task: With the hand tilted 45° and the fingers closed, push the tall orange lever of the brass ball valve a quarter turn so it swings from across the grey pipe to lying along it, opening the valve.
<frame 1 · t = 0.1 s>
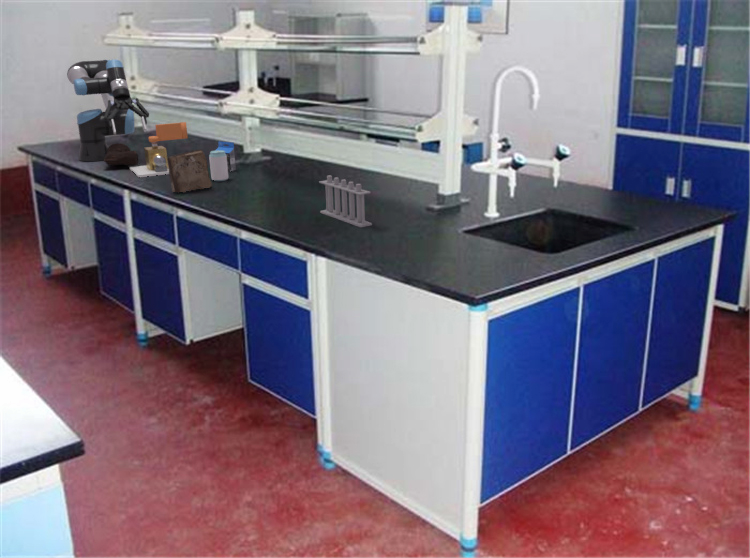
hand: (130, 131, 356), 15 cm above the worktop, tool tilted 35°, fingers open, 13 cm apart
valve: (155, 155, 345), on the mount board, point 7 cm above the worktop
test tube rack: (345, 219, 258), on the worktop
label tape cartridge: (225, 170, 343), on the worktop
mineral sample: (192, 190, 306), on the worktop
lever: (167, 131, 345), point 16 cm above the worktop, hinge at 90.0°
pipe: (122, 165, 357), point 1 cm above the worktop
can: (220, 180, 324), on the worktop
mount board: (157, 170, 347), on the worktop
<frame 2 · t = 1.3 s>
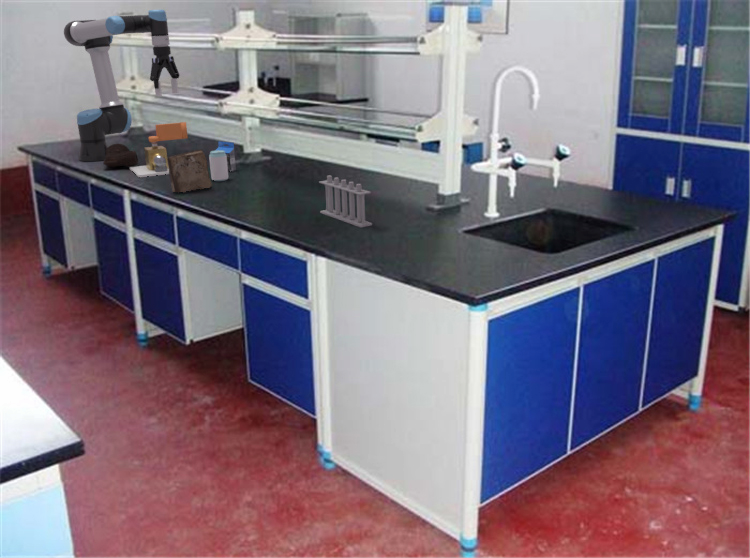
hand: (167, 94, 355), 31 cm above the worktop, tool pointing down, fingers open, 13 cm apart
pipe: (122, 166, 357), on the worktop, touching mount board
everything else where it was.
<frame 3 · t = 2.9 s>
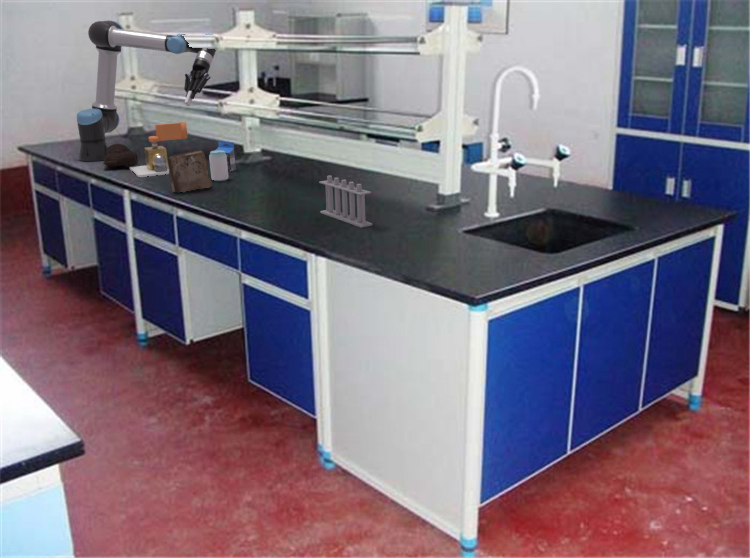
hand: (187, 104, 356), 27 cm above the worktop, tool tilted 45°, fingers closed
nothing on the worktop moved.
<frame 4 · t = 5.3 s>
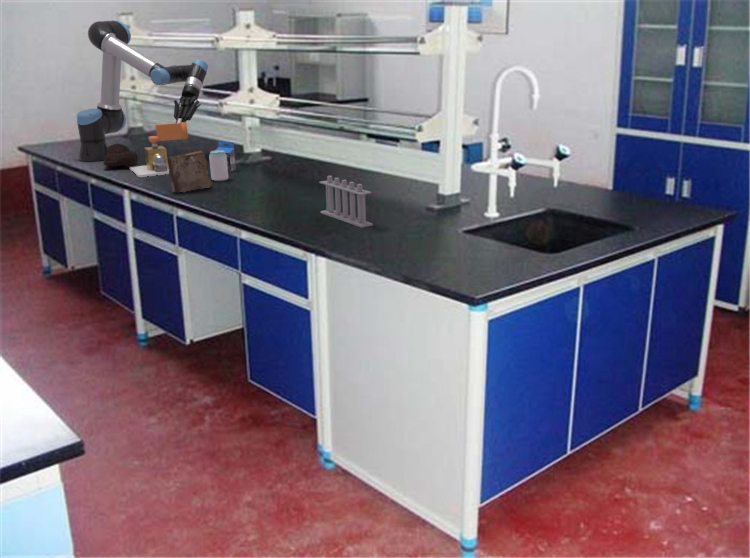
hand: (177, 132, 348), 16 cm above the worktop, tool tilted 45°, fingers closed
lever: (167, 132, 344), point 16 cm above the worktop, hinge at 86.3°, touching gripper
everything else where it was.
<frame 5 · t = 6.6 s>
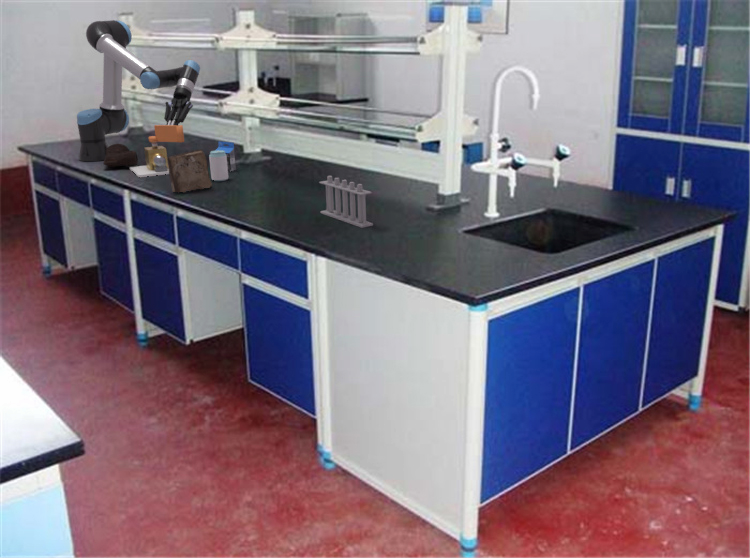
hand: (168, 134, 342), 16 cm above the worktop, tool tilted 45°, fingers closed, pressing on lever
lever: (165, 133, 340), point 16 cm above the worktop, hinge at 45.9°, touching gripper
everything else where it was.
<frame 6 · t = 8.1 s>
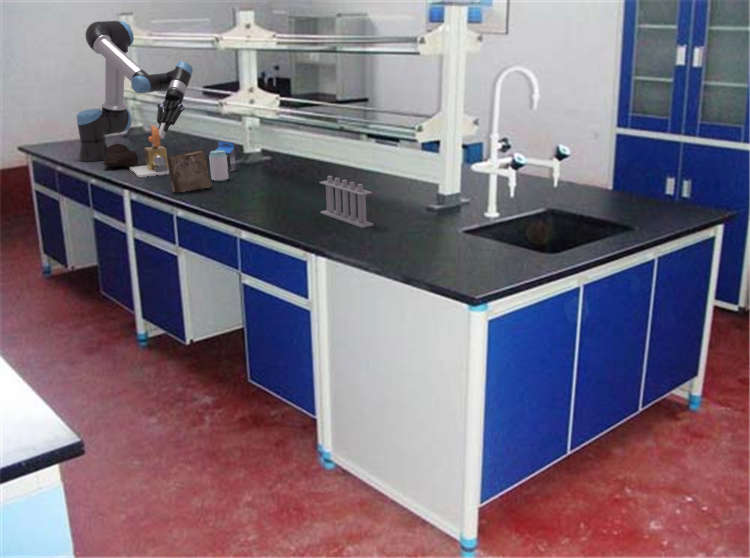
hand: (160, 137, 336), 16 cm above the worktop, tool tilted 45°, fingers closed
lever: (154, 135, 336), point 16 cm above the worktop, hinge at -6.5°
everything else where it was.
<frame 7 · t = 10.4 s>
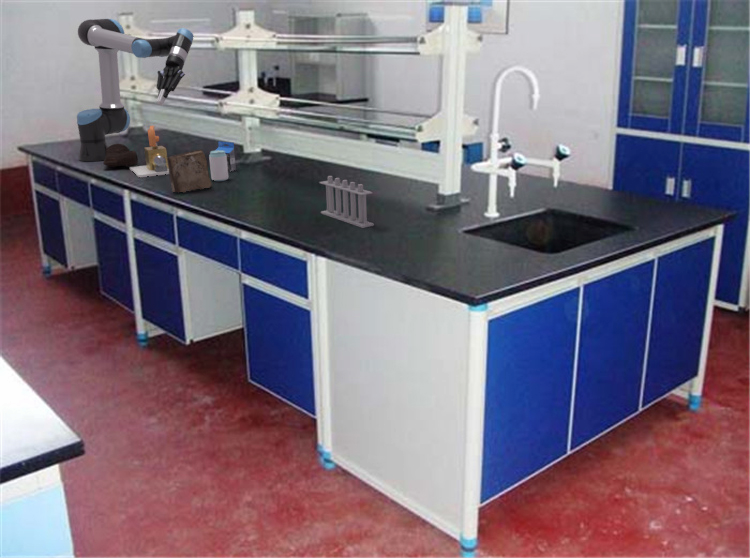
hand: (159, 103, 335), 30 cm above the worktop, tool tilted 45°, fingers closed
lever: (152, 135, 336), point 16 cm above the worktop, hinge at -13.8°
everything else where it was.
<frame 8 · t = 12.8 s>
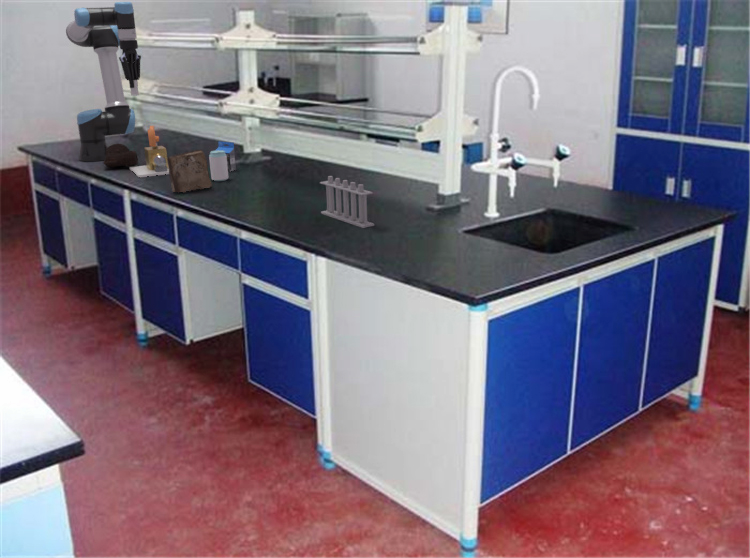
hand: (135, 95, 344), 32 cm above the worktop, tool pointing down, fingers closed
at the end: lever at -14° (first picture: +90°); the gripper is holding nothing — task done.
